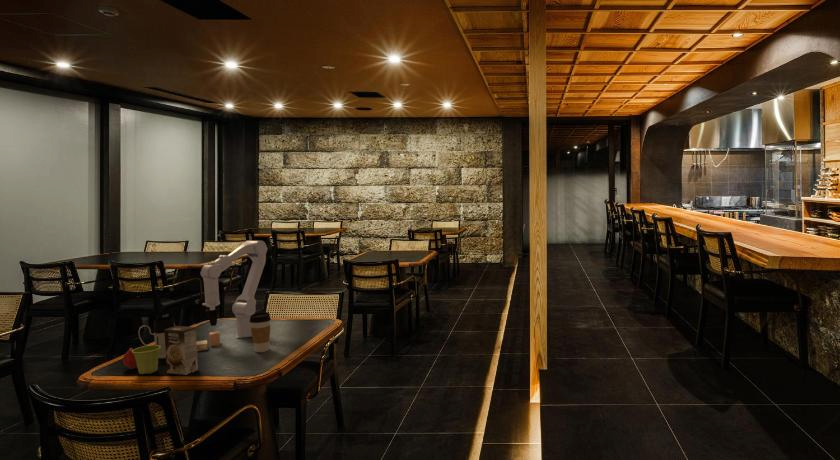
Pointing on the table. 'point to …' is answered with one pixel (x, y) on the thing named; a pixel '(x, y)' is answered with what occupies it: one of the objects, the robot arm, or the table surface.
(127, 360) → the onion
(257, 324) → the coffee cup
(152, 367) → the plant pot
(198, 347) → the birch base
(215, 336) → the painted block
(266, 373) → the table surface
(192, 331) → the coffee box
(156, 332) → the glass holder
